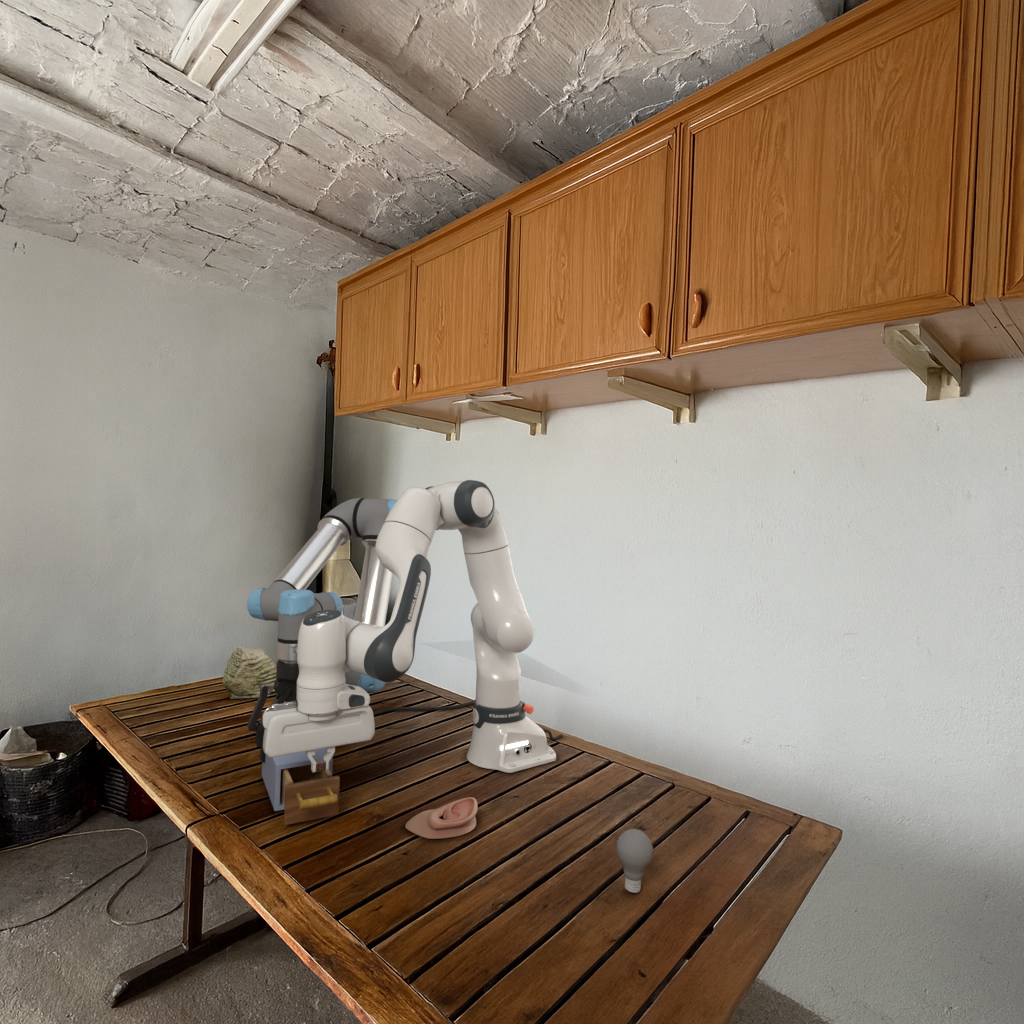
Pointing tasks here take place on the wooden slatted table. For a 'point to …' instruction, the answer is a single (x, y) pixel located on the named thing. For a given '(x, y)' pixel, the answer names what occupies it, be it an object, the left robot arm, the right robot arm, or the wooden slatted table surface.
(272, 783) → the cabinet
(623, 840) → the light bulb
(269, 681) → the fossil
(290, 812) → the drawer
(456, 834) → the anatomical model
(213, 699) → the wooden slatted table surface
